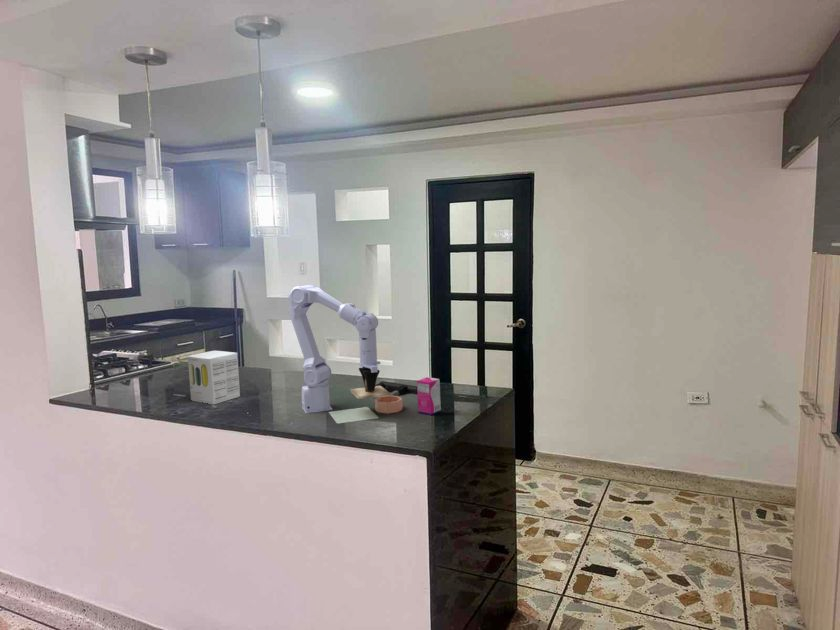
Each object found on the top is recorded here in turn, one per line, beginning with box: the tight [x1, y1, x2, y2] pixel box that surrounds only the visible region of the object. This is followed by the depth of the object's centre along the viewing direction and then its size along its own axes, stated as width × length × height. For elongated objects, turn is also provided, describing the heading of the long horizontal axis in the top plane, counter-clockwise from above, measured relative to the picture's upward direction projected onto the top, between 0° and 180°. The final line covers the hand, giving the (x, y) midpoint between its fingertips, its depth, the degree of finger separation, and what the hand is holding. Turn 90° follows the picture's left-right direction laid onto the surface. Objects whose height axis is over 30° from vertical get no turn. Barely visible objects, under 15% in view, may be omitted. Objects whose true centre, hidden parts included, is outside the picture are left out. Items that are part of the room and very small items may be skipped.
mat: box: [328, 406, 379, 424], centre depth 188 cm, size 14×14×1 cm
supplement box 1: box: [187, 350, 241, 405], centre depth 214 cm, size 13×13×18 cm
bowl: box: [374, 395, 404, 414], centre depth 194 cm, size 9×9×4 cm
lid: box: [349, 379, 390, 400], centre depth 190 cm, size 11×11×5 cm
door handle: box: [375, 380, 418, 397], centre depth 216 cm, size 3×20×16 cm
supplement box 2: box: [416, 376, 442, 416], centre depth 190 cm, size 6×6×12 cm
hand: (369, 389), depth 190 cm, fingers closed on lid, 3 cm apart
